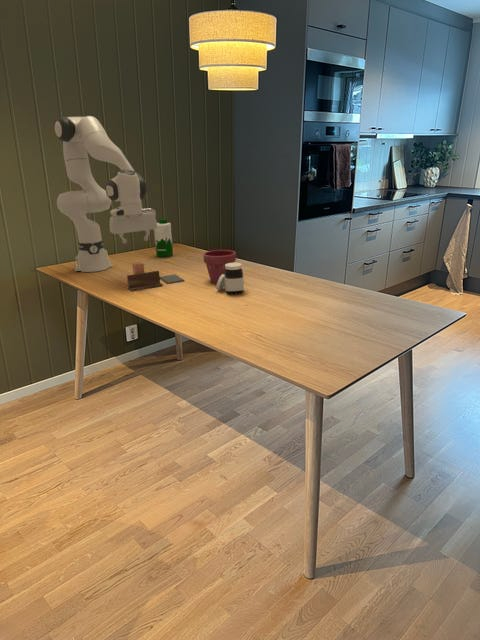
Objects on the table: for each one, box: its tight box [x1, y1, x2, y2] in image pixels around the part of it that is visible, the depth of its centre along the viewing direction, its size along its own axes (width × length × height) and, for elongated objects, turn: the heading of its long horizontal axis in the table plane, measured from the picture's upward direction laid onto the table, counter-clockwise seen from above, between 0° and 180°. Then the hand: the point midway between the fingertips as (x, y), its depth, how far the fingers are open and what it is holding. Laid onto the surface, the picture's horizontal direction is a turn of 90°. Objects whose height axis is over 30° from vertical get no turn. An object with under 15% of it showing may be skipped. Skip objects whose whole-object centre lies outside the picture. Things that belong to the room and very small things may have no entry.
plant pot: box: [203, 249, 237, 284], centre depth 209 cm, size 14×14×13 cm
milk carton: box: [153, 218, 174, 258], centre depth 260 cm, size 9×9×20 cm
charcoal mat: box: [160, 273, 185, 285], centre depth 216 cm, size 12×8×1 cm, turn 28°
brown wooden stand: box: [126, 270, 164, 292], centre depth 205 cm, size 5×14×6 cm, turn 118°
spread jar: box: [215, 262, 245, 295], centre depth 194 cm, size 12×11×12 cm
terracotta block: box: [131, 262, 146, 275], centre depth 211 cm, size 4×4×9 cm
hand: (135, 241), depth 206 cm, fingers open, 8 cm apart
